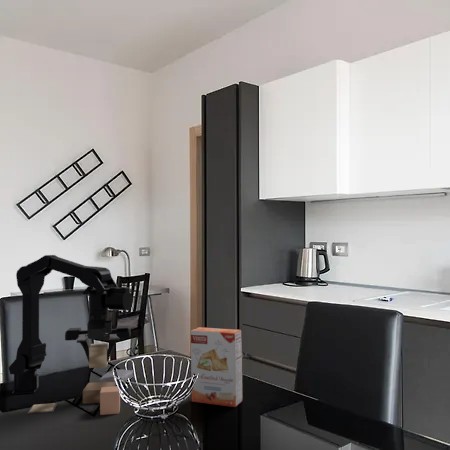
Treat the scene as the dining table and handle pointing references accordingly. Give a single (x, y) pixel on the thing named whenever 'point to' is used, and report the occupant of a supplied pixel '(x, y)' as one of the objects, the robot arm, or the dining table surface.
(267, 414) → the dining table surface
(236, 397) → the cracker box
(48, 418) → the dining table surface
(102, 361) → the oak block
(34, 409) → the tile
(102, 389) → the terracotta block
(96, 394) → the walnut base block
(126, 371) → the stone block
